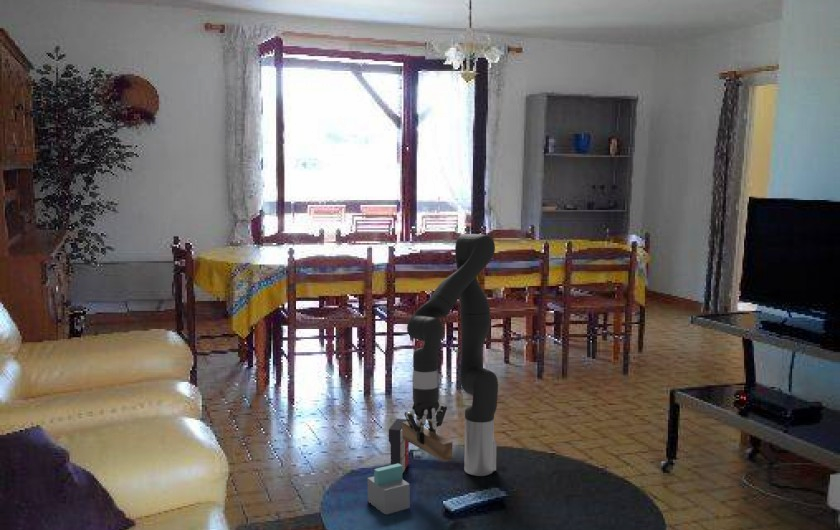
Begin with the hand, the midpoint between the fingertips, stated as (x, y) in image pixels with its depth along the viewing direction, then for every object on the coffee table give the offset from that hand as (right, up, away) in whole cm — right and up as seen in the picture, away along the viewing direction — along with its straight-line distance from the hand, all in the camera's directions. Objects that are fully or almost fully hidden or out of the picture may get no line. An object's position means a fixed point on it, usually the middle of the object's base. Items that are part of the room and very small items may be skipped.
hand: (426, 442), depth 209 cm
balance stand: (-11, -17, -5) cm, 20 cm away
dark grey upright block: (-8, -14, +20) cm, 26 cm away
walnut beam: (0, -2, 0) cm, 2 cm away
